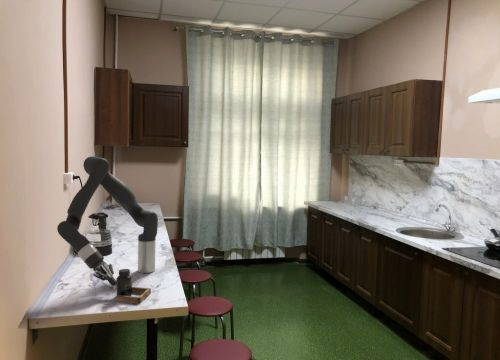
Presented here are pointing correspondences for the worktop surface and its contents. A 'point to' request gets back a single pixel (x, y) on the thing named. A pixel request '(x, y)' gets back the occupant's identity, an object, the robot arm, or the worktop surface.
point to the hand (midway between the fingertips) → (115, 284)
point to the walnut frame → (131, 299)
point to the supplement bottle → (124, 283)
